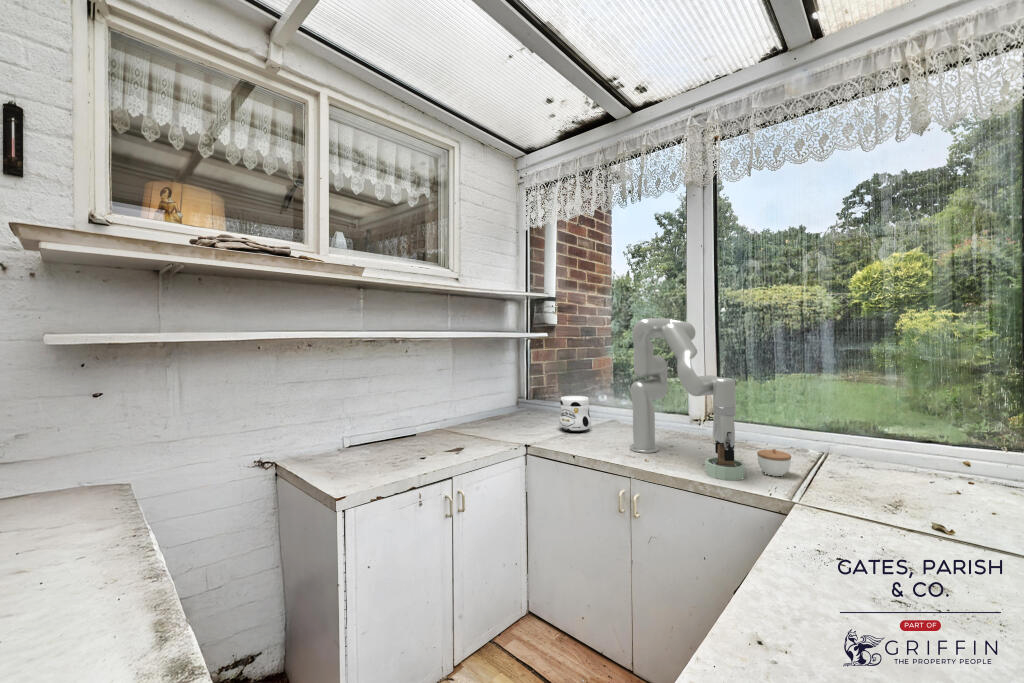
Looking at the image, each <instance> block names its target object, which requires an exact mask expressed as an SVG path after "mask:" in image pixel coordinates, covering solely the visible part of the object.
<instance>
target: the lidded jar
mask: <svg viewBox="0 0 1024 683" xmlns="http://www.w3.org/2000/svg"><path fill="white" fill-rule="evenodd" d="M756 453H757V463H758V466H759V469H760V470H761V471H762V472H765V473H766V474H769V475H773V476H772V477H774V476H782V477H784V476H785V475H786V474H787V473H788V472H789V471H790V468H791V462H792V455H791V454H790V453H788V452H785V451H781V450H776V448H772V449H759V450H758V451H756ZM765 473H764V474H765ZM766 474H765V475H766ZM769 475H768V476H769ZM783 475H784V476H783Z"/></svg>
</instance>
